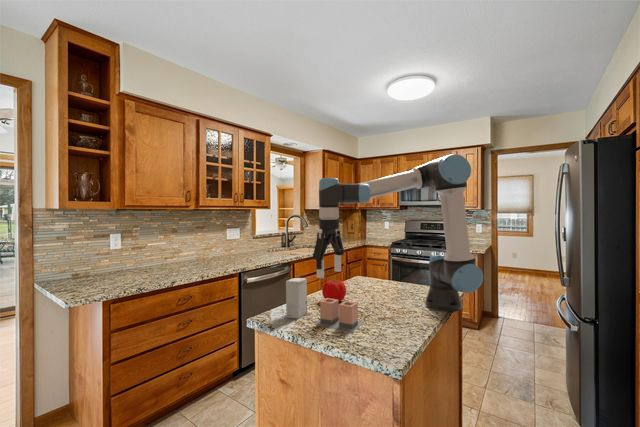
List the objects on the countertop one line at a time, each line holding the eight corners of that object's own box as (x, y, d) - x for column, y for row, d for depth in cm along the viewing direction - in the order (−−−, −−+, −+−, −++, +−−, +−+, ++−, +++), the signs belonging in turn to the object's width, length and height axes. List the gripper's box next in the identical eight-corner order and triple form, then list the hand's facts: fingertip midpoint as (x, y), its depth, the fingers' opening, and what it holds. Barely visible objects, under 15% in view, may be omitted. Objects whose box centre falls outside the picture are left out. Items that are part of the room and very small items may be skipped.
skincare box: (298, 319, 122) (298, 282, 122) (285, 317, 124) (285, 280, 124) (307, 313, 130) (307, 277, 130) (295, 311, 132) (294, 276, 132)
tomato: (323, 297, 153) (323, 276, 153) (346, 297, 152) (346, 277, 152) (321, 304, 141) (320, 282, 141) (346, 305, 140) (346, 282, 140)
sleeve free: (338, 320, 119) (338, 299, 119) (332, 324, 114) (332, 303, 114) (327, 318, 121) (326, 297, 121) (320, 322, 117) (320, 301, 117)
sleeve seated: (357, 324, 115) (357, 302, 115) (351, 329, 110) (351, 306, 110) (345, 321, 117) (345, 300, 117) (339, 326, 113) (338, 304, 113)
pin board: (364, 324, 116) (364, 309, 116) (352, 334, 107) (351, 318, 107) (327, 316, 125) (327, 303, 125) (313, 325, 115) (312, 310, 115)
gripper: (335, 218, 130) (336, 268, 130) (302, 219, 109) (303, 279, 109) (351, 218, 126) (352, 269, 127) (320, 219, 105) (321, 282, 105)
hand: (329, 274), depth 118 cm, fingers open, 13 cm apart
